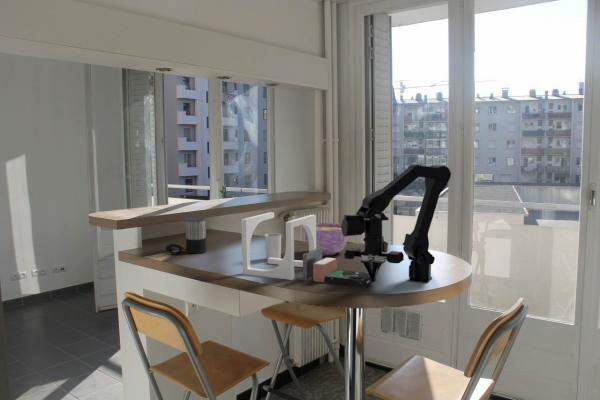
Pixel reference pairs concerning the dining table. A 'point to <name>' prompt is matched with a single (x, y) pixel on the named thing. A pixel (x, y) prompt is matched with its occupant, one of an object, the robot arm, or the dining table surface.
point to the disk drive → (349, 278)
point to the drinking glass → (273, 245)
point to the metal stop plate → (310, 263)
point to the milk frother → (192, 237)
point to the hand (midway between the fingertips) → (373, 281)
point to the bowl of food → (328, 238)
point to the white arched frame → (287, 263)
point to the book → (324, 268)
